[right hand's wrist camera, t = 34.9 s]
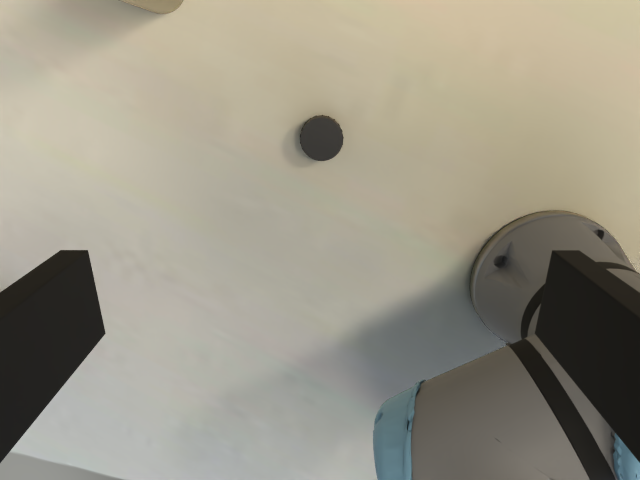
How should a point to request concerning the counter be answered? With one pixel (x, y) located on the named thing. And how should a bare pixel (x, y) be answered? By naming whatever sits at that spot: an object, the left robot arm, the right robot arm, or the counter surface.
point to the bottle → (156, 5)
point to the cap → (321, 138)
